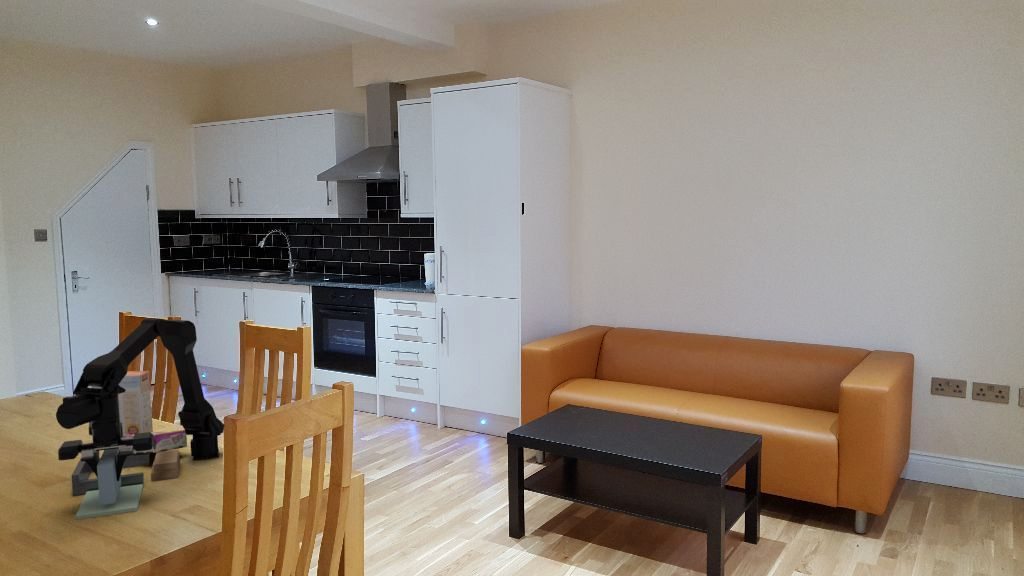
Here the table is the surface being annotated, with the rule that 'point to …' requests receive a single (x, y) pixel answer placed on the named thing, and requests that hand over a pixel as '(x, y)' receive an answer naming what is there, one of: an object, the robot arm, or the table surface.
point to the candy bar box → (164, 441)
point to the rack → (84, 484)
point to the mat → (124, 503)
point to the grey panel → (108, 477)
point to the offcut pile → (165, 465)
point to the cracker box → (135, 403)
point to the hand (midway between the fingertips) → (110, 481)
